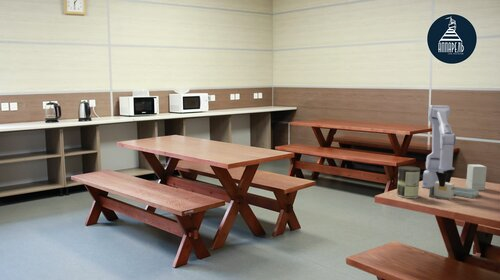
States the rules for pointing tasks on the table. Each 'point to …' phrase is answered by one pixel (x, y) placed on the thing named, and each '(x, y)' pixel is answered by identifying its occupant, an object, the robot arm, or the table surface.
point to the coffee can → (408, 181)
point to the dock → (437, 196)
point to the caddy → (444, 190)
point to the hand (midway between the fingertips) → (444, 185)
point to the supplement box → (476, 177)
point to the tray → (466, 192)
